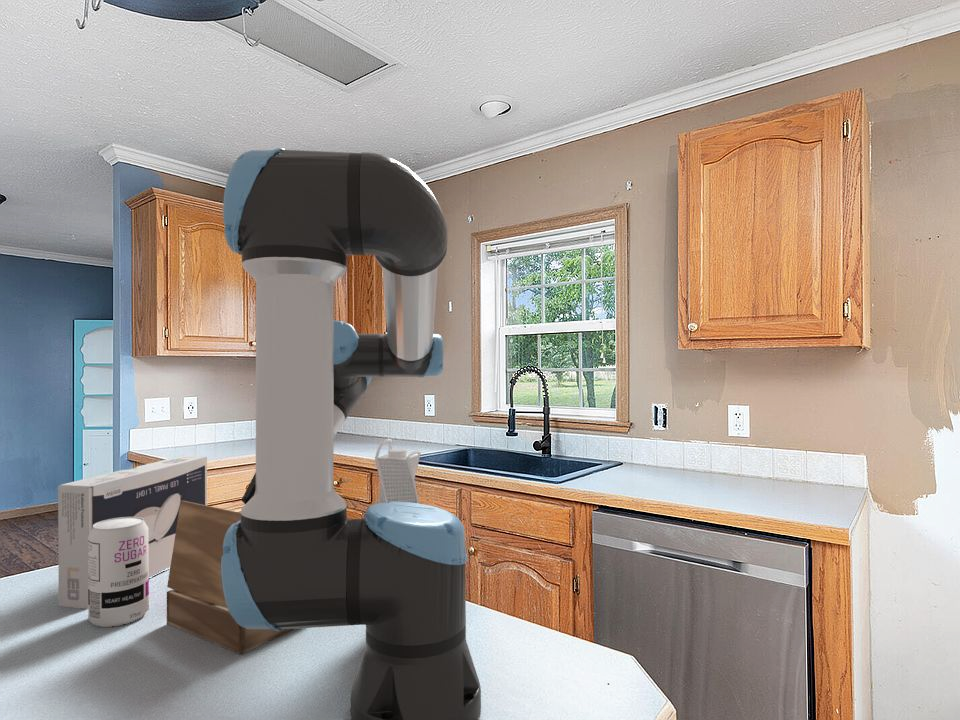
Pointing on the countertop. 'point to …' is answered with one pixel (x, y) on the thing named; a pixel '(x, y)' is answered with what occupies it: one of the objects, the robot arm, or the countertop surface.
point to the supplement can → (118, 571)
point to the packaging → (124, 514)
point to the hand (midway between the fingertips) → (231, 548)
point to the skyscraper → (397, 475)
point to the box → (214, 623)
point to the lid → (200, 551)
